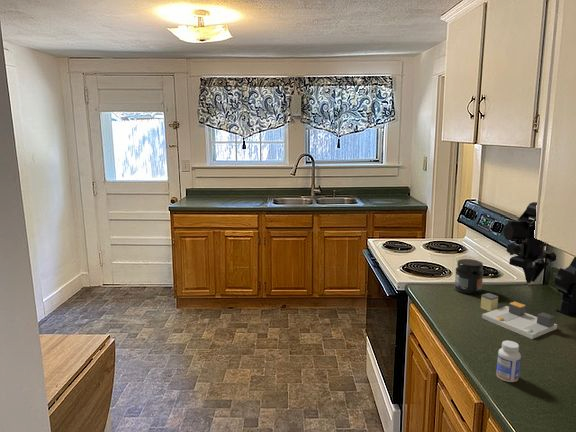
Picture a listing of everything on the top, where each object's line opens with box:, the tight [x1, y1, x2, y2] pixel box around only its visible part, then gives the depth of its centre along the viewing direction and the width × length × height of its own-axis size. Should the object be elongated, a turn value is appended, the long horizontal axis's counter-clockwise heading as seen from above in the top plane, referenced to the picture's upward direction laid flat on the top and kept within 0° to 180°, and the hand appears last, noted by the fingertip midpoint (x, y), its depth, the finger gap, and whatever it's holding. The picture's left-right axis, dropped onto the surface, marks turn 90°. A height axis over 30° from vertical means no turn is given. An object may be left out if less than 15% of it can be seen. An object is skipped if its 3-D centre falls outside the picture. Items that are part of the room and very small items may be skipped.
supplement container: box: [453, 258, 484, 295], centre depth 178 cm, size 10×10×12 cm
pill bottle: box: [496, 339, 522, 383], centre depth 116 cm, size 5×5×10 cm
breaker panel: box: [481, 305, 558, 340], centre depth 149 cm, size 14×18×2 cm
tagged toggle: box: [508, 301, 527, 316], centre depth 152 cm, size 3×4×3 cm
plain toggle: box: [536, 311, 556, 327], centre depth 144 cm, size 3×4×3 cm
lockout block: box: [480, 292, 499, 312], centre depth 161 cm, size 4×4×5 cm
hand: (530, 282), depth 154 cm, fingers open, 2 cm apart
